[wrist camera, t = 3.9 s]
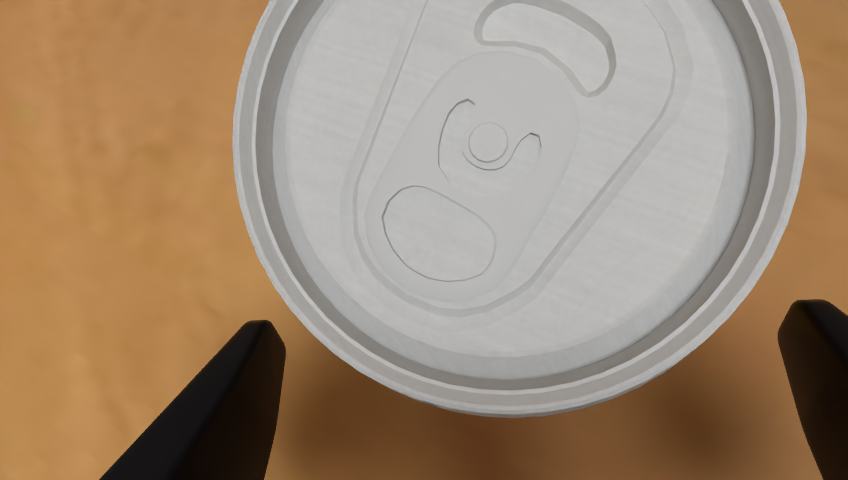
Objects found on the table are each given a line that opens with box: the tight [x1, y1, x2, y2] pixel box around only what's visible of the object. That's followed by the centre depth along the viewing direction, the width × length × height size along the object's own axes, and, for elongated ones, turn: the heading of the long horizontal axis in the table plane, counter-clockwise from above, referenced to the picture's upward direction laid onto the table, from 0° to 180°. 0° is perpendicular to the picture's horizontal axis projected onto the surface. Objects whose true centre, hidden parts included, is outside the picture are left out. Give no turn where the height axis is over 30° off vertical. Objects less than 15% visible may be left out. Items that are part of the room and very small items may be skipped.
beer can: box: [232, 0, 807, 418], centre depth 12 cm, size 6×6×15 cm
